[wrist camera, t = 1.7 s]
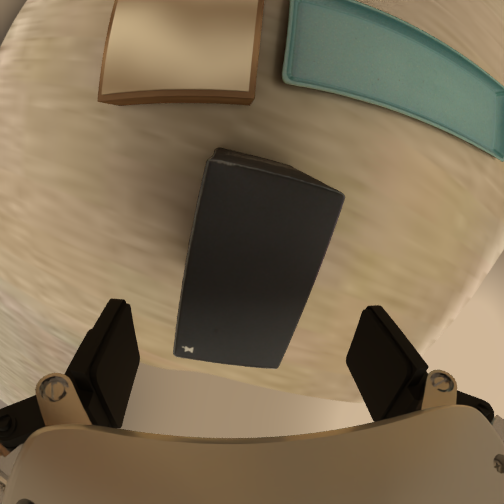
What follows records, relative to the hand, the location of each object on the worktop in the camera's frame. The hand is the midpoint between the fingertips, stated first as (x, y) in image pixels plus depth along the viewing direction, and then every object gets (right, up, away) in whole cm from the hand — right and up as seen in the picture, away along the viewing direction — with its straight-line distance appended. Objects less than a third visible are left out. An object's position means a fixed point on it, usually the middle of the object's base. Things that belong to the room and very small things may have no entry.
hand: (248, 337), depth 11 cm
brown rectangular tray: (-4, +21, +5) cm, 22 cm away
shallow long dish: (+15, +19, +8) cm, 26 cm away
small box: (-1, +6, +12) cm, 13 cm away
